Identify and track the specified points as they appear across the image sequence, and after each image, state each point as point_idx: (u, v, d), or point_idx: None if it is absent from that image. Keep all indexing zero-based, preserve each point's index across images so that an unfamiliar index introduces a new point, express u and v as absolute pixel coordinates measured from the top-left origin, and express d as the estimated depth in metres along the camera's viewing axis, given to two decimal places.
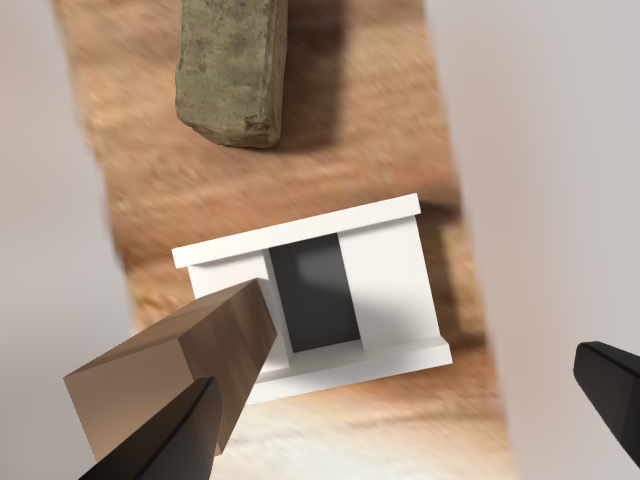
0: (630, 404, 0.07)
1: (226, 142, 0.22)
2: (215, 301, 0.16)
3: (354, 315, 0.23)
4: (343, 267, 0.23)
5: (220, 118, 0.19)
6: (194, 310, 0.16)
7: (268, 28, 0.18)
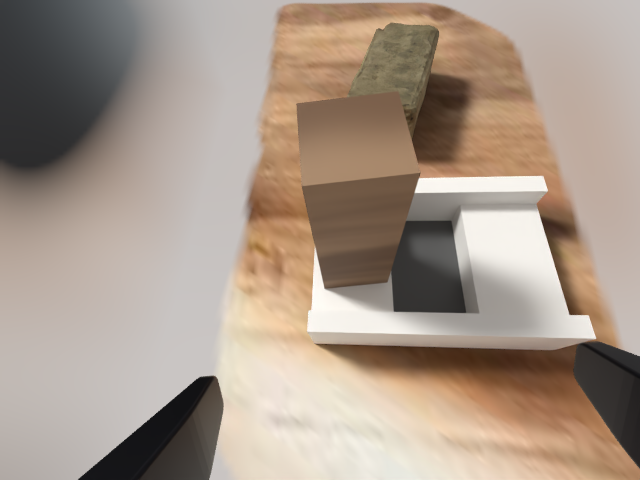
0: (630, 404, 0.07)
1: None
2: None
3: (463, 301, 0.22)
4: (455, 253, 0.24)
5: None
6: None
7: (425, 64, 0.26)
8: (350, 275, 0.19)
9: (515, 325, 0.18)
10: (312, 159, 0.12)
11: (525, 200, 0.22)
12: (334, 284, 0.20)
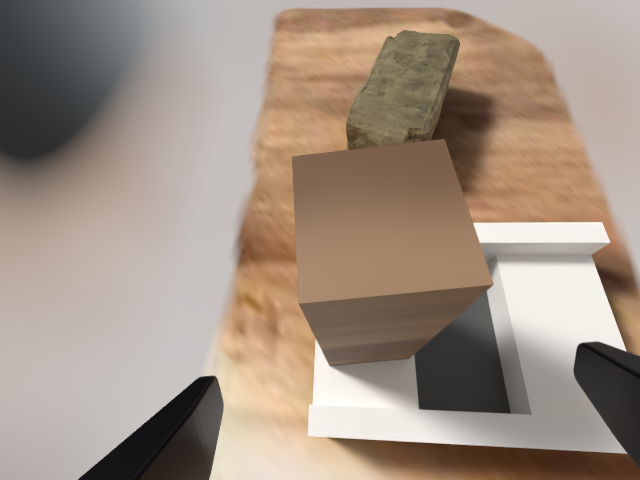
0: (630, 404, 0.07)
1: None
2: None
3: (501, 377, 0.18)
4: (488, 312, 0.19)
5: (386, 126, 0.21)
6: None
7: (442, 80, 0.22)
8: (363, 357, 0.15)
9: (584, 434, 0.13)
10: (316, 254, 0.07)
11: (578, 251, 0.18)
12: (342, 363, 0.16)
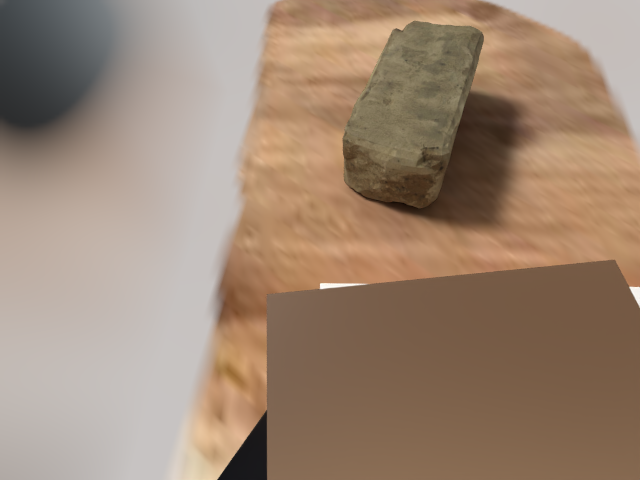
0: None
1: (375, 186, 0.19)
2: None
3: None
4: None
5: (393, 143, 0.16)
6: None
7: (464, 84, 0.18)
8: None
9: None
10: None
11: None
12: None
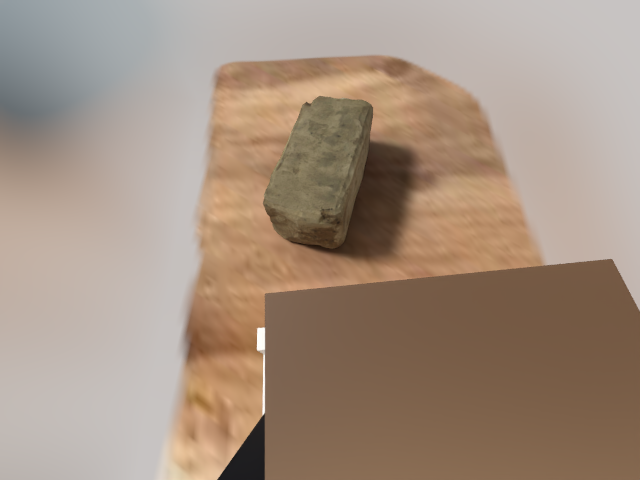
0: None
1: (295, 235, 0.24)
2: None
3: None
4: None
5: (300, 207, 0.21)
6: None
7: (354, 152, 0.23)
8: None
9: None
10: None
11: None
12: None
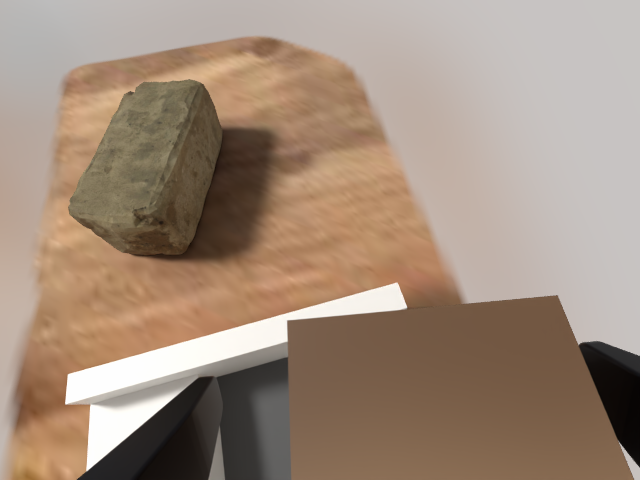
0: (631, 404, 0.07)
1: (127, 246, 0.20)
2: None
3: None
4: None
5: (108, 211, 0.17)
6: None
7: (178, 138, 0.19)
8: None
9: None
10: None
11: None
12: None
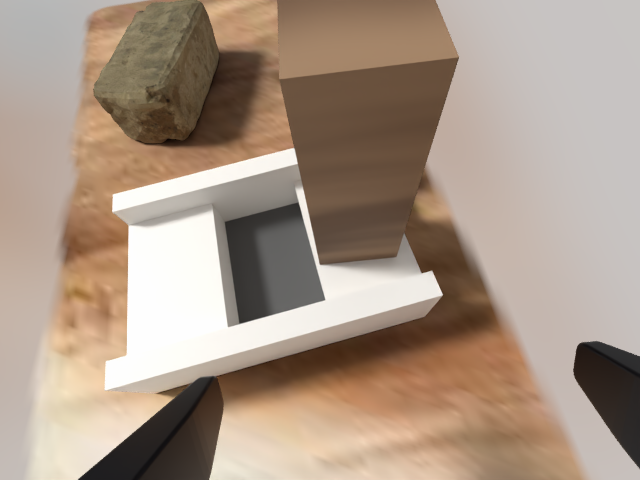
0: (630, 404, 0.07)
1: (139, 129, 0.24)
2: None
3: (321, 290, 0.19)
4: (306, 237, 0.20)
5: (126, 89, 0.22)
6: None
7: (181, 39, 0.24)
8: (351, 245, 0.15)
9: (355, 305, 0.15)
10: (297, 46, 0.08)
11: None
12: (332, 259, 0.17)
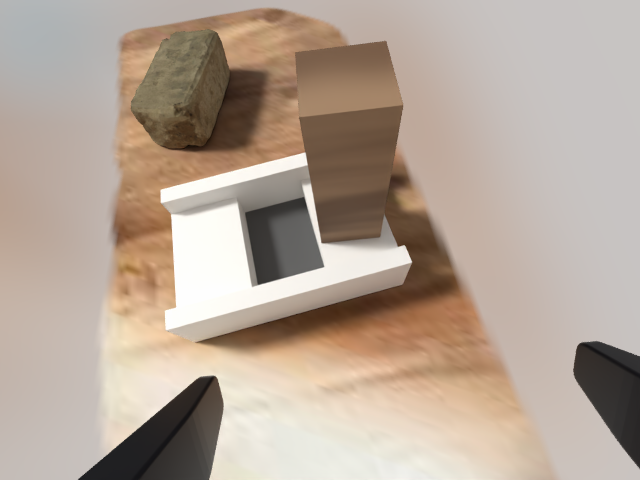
0: (630, 404, 0.07)
1: (166, 137, 0.29)
2: None
3: (322, 264, 0.24)
4: (310, 224, 0.26)
5: (157, 106, 0.27)
6: None
7: (201, 64, 0.29)
8: (345, 227, 0.21)
9: (348, 270, 0.20)
10: (309, 96, 0.13)
11: None
12: (330, 238, 0.22)
